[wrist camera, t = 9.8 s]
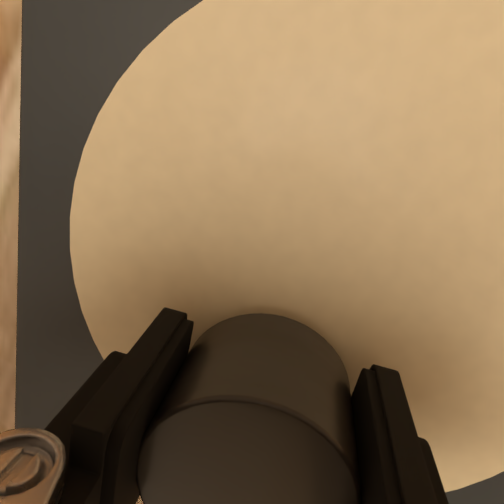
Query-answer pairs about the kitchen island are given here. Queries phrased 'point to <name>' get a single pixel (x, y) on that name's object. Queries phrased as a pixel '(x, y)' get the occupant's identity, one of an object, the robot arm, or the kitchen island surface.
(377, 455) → the robot arm
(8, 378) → the kitchen island surface
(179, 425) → the dot
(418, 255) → the face board
